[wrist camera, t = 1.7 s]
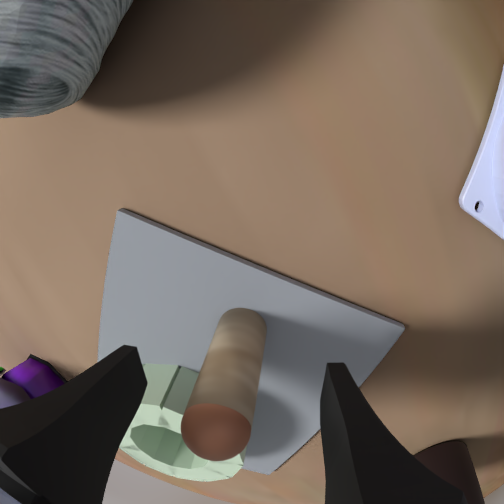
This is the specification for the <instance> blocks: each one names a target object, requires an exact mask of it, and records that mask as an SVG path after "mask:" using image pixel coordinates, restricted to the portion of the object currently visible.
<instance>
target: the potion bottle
mask: <svg viewBox="0 0 504 504" xmlns="http://www.w3.org/2000/svg"><path fill="white" fill-rule="evenodd" d="M5 371H6V370H5V369H4V368H2V367H0V376H1V375H2V374H3V376H2V378H0V408H5V407H9V406H13V405H16V404H20V403H23V402H25V401H28V400H31V399H33V398H36V397H39V396H41V395H43V394H45V393H48V392H50V391H52V390H54V389H56V388H58V387H59V386H61V385H63V384H65V383H67V381H66V380H65V379H64V378H63V377H62V376H61V375H60V374H59V373H58V372H57V371H56V370H55V369H54V368H53V367H52V365H51V364H50V363H48V362H46V361H44V360H42V359H40V358H38V357H35V356H33V355H31V354H30V356H29V357H28V358H27V360H26V361H24V362H23V363H21V364H19V365H18V366H16V367H15V368H13V369H11V370H10V371H8V372H6V373H5V374H4V372H5Z"/></svg>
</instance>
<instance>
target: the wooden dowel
mask: <svg viewBox="0 0 504 504" xmlns="http://www.w3.org/2000/svg"><path fill="white" fill-rule="evenodd" d="M266 333H267V326H266V323H265V321H264V319H263V318H262V317H261V316H260V315H259V314H258V313H257V312H255V311H253V310H250V309H247V308H233V309H230V310H228V311H226V312H225V313H224V314H223V315H222V316H221V318H220V320H219V323H218V325H217V328H216V331H215V333H214V336H213V338H212V341H211V344H210V346H209V349H208V351H207V354H206V357H205V359H204V362H203V364H202V367H201V370H200V372H199V375H198V377H197V380H196V383H195V385H194V388H193V391H192V393H191V396H190V398H189V401H188V404H187V406H186V409H185V412H184V415H183V417H182V421H181V435H182V438H183V441H184V443H185V444H186V446H187V447H188V448H189V449H190V450H191V451H192V452H193V453H194V454H195V455H197V456H199V457H201V458H203V459H206V460H210V461H224V460H228V459H231V458H233V457H235V456H237V455H238V454H240V453H241V452H242V451H243V450H244V449H245V447H246V446H247V444H248V442H249V439H250V436H251V430H252V424H253V418H254V412H255V406H256V399H257V393H258V387H259V380H260V374H261V367H262V360H263V354H264V347H265V340H266Z"/></svg>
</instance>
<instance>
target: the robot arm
mask: <svg viewBox="0 0 504 504" xmlns="http://www.w3.org/2000/svg"><path fill="white" fill-rule="evenodd" d="M477 201H479V207H478V209H477V210H475V204H476V202H477ZM459 204H460V207H461V208H462V209H463V210H464V211H466V212H467V213H468V214H470V215H471V216H473V217H474V218H475V219H477V220H478V221H479V222H481V223H482V224H484V225H485V226H486V227H488V228H489V229H490V230H491V231H493V232H494V233H495V234H497V235H498V236H499V237H500V238H502V239H503V240H504V66H503V71H502V75H501V79H500V83H499V87H498V91H497V94H496V98H495V101H494V105H493V108H492V112H491V115H490V118H489V121H488V124H487V127H486V130H485V133H484V136H483V139H482V142H481V144H480V147H479V150H478V152H477V155H476V158H475V160H474V163H473V165H472V168H471V170H470V173H469V175H468V177H467V180H466V182H465V184H464V187H463V189H462V191H461V193H460V196H459ZM147 384H148V382H147V379H146V376H145V372H144V369H143V366H142V363H141V359H140V356H139V352H138V349H137V347H135V346H129V345H123V346H121V347H119V348H118V349H116V350H115V351H113V352H112V353H110V354H109V355H108V356H106V357H105V358H103V359H102V360H100V361H99V362H97V363H96V364H95V365H93V366H92V367H90V368H89V369H87V370H86V371H84V372H83V373H81V374H79V375H78V376H76V377H75V378H73V379H71V380H70V381H68V382H67V383H65V384H63V385H61V386H59V387H58V388H56V389H54V390H52V391H50V392H48V393H45V394H43V395H41V396H39V397H36V398H33V399H31V400H28V401H25V402H23V403H20V404H16V405H13V406H9V407H5V408H0V504H102V501H103V497H104V492H105V488H106V484H107V481H108V477H109V474H110V470H111V467H112V464H113V461H114V459H115V456H116V453H117V450H118V448H119V446H120V444H121V442H122V440H123V438H124V436H125V434H126V432H127V430H128V428H129V426H130V424H131V422H132V420H133V418H134V416H135V414H136V412H137V411H138V409H139V407H140V404H141V402H142V399H143V396H144V394H145V390H146V387H147ZM320 428H321V436H322V445H323V454H324V464H325V476H326V491H325V504H468V503H467V500H466V498H465V495H464V492H463V491H462V490H460V489H458V488H457V487H455V486H453V485H452V484H450V483H448V482H446V481H445V480H443V479H442V478H440V477H439V476H437V475H436V474H435V473H433V472H432V471H431V470H429V469H428V468H427V467H426V466H424V465H423V464H422V463H421V462H420V461H419V460H417V459H416V458H415V457H414V456H413V455H412V454H410V453H409V452H408V451H407V450H406V449H405V448H404V447H403V446H402V445H401V444H400V443H399V442H398V440H397V439H396V438H395V437H394V436H393V435H392V434H391V433H390V431H389V430H388V429H387V428H386V427H385V425H384V424H383V423H382V421H381V420H380V419H379V418H378V416H377V415H376V414H375V412H374V411H373V409H372V408H371V406H370V405H369V403H368V402H367V400H366V399H365V397H364V396H363V394H362V393H361V391H360V389H359V388H358V386H357V384H356V383H355V381H354V379H353V377H352V375H351V374H350V372H349V370H348V368H347V366H346V364H345V363H344V362H339V363H327V365H326V371H325V376H324V382H323V387H322V392H321V397H320Z"/></svg>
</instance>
